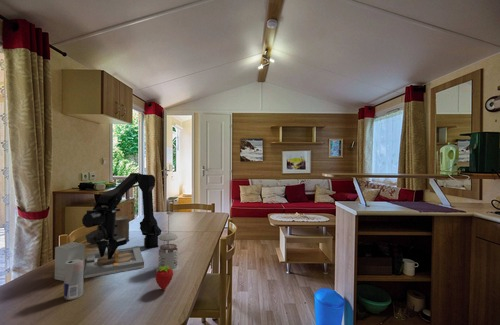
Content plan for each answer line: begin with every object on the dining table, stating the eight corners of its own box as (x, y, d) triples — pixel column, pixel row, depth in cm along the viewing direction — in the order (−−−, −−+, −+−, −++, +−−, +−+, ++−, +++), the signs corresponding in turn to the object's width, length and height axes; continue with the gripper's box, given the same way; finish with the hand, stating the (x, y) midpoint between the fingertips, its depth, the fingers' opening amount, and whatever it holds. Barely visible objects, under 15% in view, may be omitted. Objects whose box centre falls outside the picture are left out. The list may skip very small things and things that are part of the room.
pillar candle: (132, 239, 149) (132, 214, 149) (122, 244, 139) (122, 217, 140) (117, 238, 150) (117, 213, 150) (106, 243, 140) (106, 217, 140)
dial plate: (138, 251, 129) (138, 246, 129) (144, 267, 110) (144, 260, 110) (88, 259, 118) (88, 253, 118) (84, 278, 99) (84, 270, 99)
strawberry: (175, 285, 94) (176, 258, 94) (168, 295, 87) (169, 266, 87) (160, 284, 95) (160, 258, 95) (151, 295, 87) (152, 266, 87)
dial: (96, 258, 116) (96, 247, 116) (129, 252, 123) (129, 242, 123) (97, 269, 104) (98, 256, 104) (134, 262, 112) (134, 250, 112)
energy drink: (70, 292, 88) (71, 258, 88) (86, 291, 88) (86, 258, 88) (60, 300, 83) (60, 264, 83) (77, 300, 83) (77, 264, 83)
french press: (157, 275, 102) (158, 214, 102) (154, 264, 113) (155, 209, 113) (181, 270, 107) (182, 212, 107) (176, 261, 117) (177, 207, 117)
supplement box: (85, 274, 102) (86, 243, 102) (67, 282, 95) (67, 249, 95) (72, 271, 104) (73, 241, 104) (53, 279, 97) (54, 246, 97)
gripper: (75, 222, 106) (73, 259, 106) (104, 230, 98) (101, 269, 98) (101, 218, 116) (99, 251, 116) (128, 224, 108) (126, 260, 108)
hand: (105, 258), depth 110 cm, fingers open, 5 cm apart
